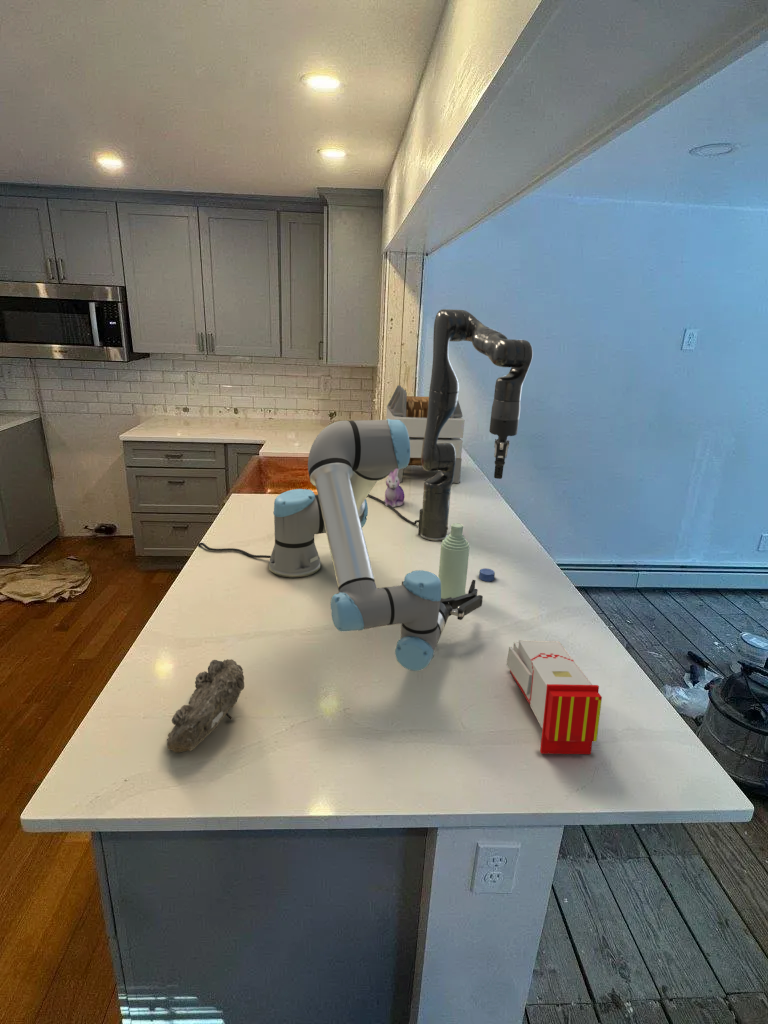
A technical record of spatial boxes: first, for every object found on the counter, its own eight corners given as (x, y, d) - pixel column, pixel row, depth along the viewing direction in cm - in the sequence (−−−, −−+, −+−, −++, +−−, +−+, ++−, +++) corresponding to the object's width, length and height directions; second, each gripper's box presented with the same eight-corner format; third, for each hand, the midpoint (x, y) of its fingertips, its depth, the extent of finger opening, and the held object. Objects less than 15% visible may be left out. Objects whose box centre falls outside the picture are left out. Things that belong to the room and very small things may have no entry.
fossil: (192, 660, 117) (244, 628, 112) (224, 691, 120) (276, 661, 115) (142, 746, 98) (202, 712, 93) (182, 779, 101) (242, 748, 96)
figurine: (389, 509, 224) (391, 472, 218) (377, 501, 232) (379, 465, 227) (410, 506, 228) (412, 470, 223) (398, 498, 236) (399, 463, 231)
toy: (555, 623, 127) (611, 693, 98) (549, 678, 130) (602, 761, 101) (501, 622, 127) (542, 691, 98) (497, 677, 130) (535, 760, 100)
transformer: (382, 463, 289) (386, 382, 275) (445, 464, 293) (451, 384, 279) (390, 482, 257) (394, 392, 243) (460, 483, 261) (468, 394, 247)
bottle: (455, 587, 163) (462, 518, 156) (469, 599, 157) (477, 528, 150) (432, 591, 160) (437, 521, 153) (445, 603, 154) (451, 531, 147)
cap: (481, 573, 172) (482, 567, 172) (496, 577, 170) (496, 570, 170) (476, 579, 169) (477, 572, 168) (491, 583, 167) (492, 576, 166)
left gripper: (375, 623, 132) (400, 584, 151) (482, 646, 125) (494, 601, 144) (376, 595, 129) (401, 558, 148) (486, 616, 123) (497, 575, 142)
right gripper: (492, 411, 160) (486, 466, 166) (489, 419, 147) (483, 479, 153) (519, 413, 159) (512, 469, 164) (519, 422, 146) (511, 482, 151)
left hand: (447, 579), depth 146 cm, fingers open, 13 cm apart
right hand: (498, 474), depth 159 cm, fingers open, 8 cm apart
